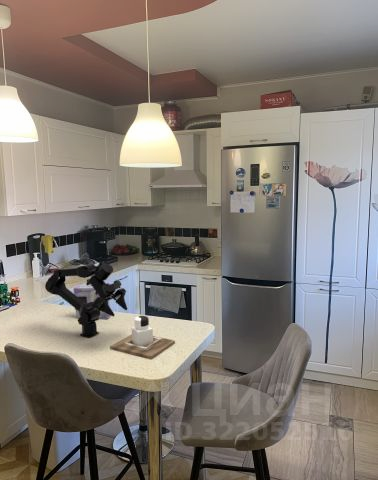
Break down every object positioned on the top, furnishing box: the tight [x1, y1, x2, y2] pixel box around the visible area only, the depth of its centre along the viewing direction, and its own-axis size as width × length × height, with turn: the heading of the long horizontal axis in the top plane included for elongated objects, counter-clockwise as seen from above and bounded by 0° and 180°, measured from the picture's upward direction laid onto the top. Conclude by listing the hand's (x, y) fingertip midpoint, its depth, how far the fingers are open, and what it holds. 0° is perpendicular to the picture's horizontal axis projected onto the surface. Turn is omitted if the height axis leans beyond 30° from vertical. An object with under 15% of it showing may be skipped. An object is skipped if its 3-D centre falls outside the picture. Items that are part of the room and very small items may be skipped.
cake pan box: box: [73, 284, 112, 320], centre depth 205 cm, size 19×5×18 cm, turn 81°
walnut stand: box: [109, 333, 176, 360], centre depth 168 cm, size 22×18×2 cm
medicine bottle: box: [131, 315, 154, 347], centre depth 167 cm, size 7×7×12 cm
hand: (120, 312), depth 171 cm, fingers open, 9 cm apart
